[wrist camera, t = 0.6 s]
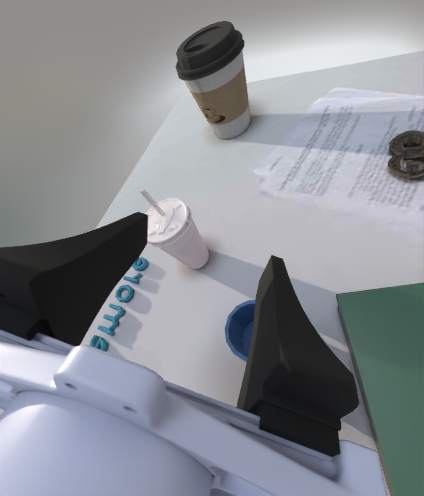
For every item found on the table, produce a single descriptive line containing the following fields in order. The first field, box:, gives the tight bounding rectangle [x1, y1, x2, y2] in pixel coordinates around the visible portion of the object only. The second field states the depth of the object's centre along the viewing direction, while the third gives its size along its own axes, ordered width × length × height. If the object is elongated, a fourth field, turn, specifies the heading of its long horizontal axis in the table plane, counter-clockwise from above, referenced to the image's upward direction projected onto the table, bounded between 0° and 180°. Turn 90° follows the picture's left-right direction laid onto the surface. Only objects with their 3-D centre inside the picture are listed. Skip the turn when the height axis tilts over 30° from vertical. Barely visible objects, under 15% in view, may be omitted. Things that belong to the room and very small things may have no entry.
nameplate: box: [89, 257, 148, 351], centre depth 32 cm, size 37×1×5 cm
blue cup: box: [225, 300, 256, 362], centre depth 25 cm, size 6×6×6 cm
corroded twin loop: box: [388, 130, 424, 179], centre depth 31 cm, size 5×8×1 cm, turn 162°
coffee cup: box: [176, 21, 250, 139], centre depth 43 cm, size 11×11×15 cm
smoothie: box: [139, 188, 209, 269], centre depth 30 cm, size 6×6×14 cm
